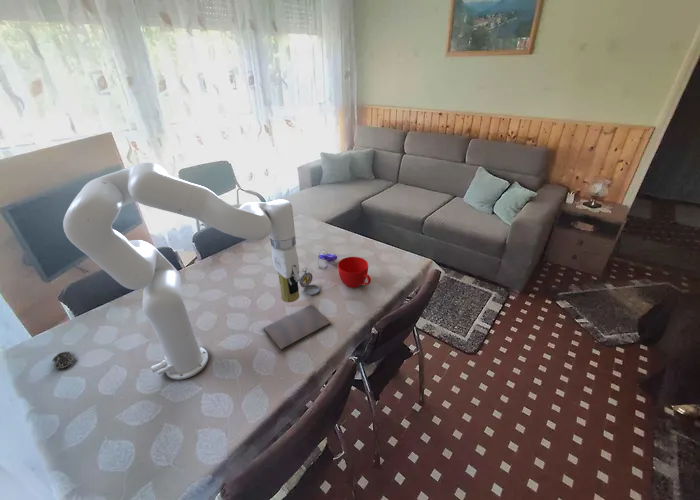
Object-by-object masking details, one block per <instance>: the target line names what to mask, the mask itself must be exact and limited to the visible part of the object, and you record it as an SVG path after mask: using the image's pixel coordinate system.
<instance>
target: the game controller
mask: <svg viewBox="0 0 700 500" xmlns="http://www.w3.org/2000/svg"><path fill="white" fill-rule="evenodd" d="M322 250H324V251H325V249H324V248H323V249H321V251H322ZM317 259H318V260H322V261H326V262H328V263H329V264H331V265H333V266H334V264H333V263H335V262H336V261H337V259H338V255H336V253H328V252H323V253H321V254H318V258H317ZM330 262H333V263H330ZM317 265H318V266H319V268H321V267H320V266H321V265H319V262H317ZM328 267H329V266H328V265H326V266H325V267H324V269H327V268H328ZM336 267H337V268H338V263H336Z"/></svg>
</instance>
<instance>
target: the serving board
mask: <svg viewBox="0 0 700 500" xmlns="http://www.w3.org/2000/svg"><path fill="white" fill-rule="evenodd" d="M329 326H330V322H329V320H327V319H326V318H325V317H324V316H323V315H322V314H321V313H320V312H318V310H316V309H315V308H314V307H313V306H312V305H310V304H309V305H308V306H306V307H304V308H302V309H299V310H297V311H295V312H294V313H293V312H292V313H291V314H288V315H287V316H285V317H283V318H281V319H279V320H277V321H275V322H273V323H271V324H268V325H266V326H265V327H263V330H264V332H265V333H266V334H267V335H268V336H269V338H270V339H271V340H272V341H273V343H274V344H275V345H276V347H277V348H278V349H279V350H280V351H281V352H282V351H285V350H286V349H288V348H290V347H292V346H293V345H296V344H297V343H299V342H301V341H303V340H305V339H306V338H308V337H311V336H312V335H314V334H316V333H318V332H319V331H321V330H323V329H325V328H327V327H329Z"/></svg>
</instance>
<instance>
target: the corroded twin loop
mask: <svg viewBox="0 0 700 500" xmlns="http://www.w3.org/2000/svg"><path fill="white" fill-rule="evenodd" d="M71 354H72V353H71V351H61V352H59V353H57V354H56V355H55V356H54V357H53V358H52V360H51V361H52V363H54V365H53V368H54V369H57V370H60V369H61V370H62V369H66V368H68V367H69V366H70V365H71V363H73V362H74V356H71Z"/></svg>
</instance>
